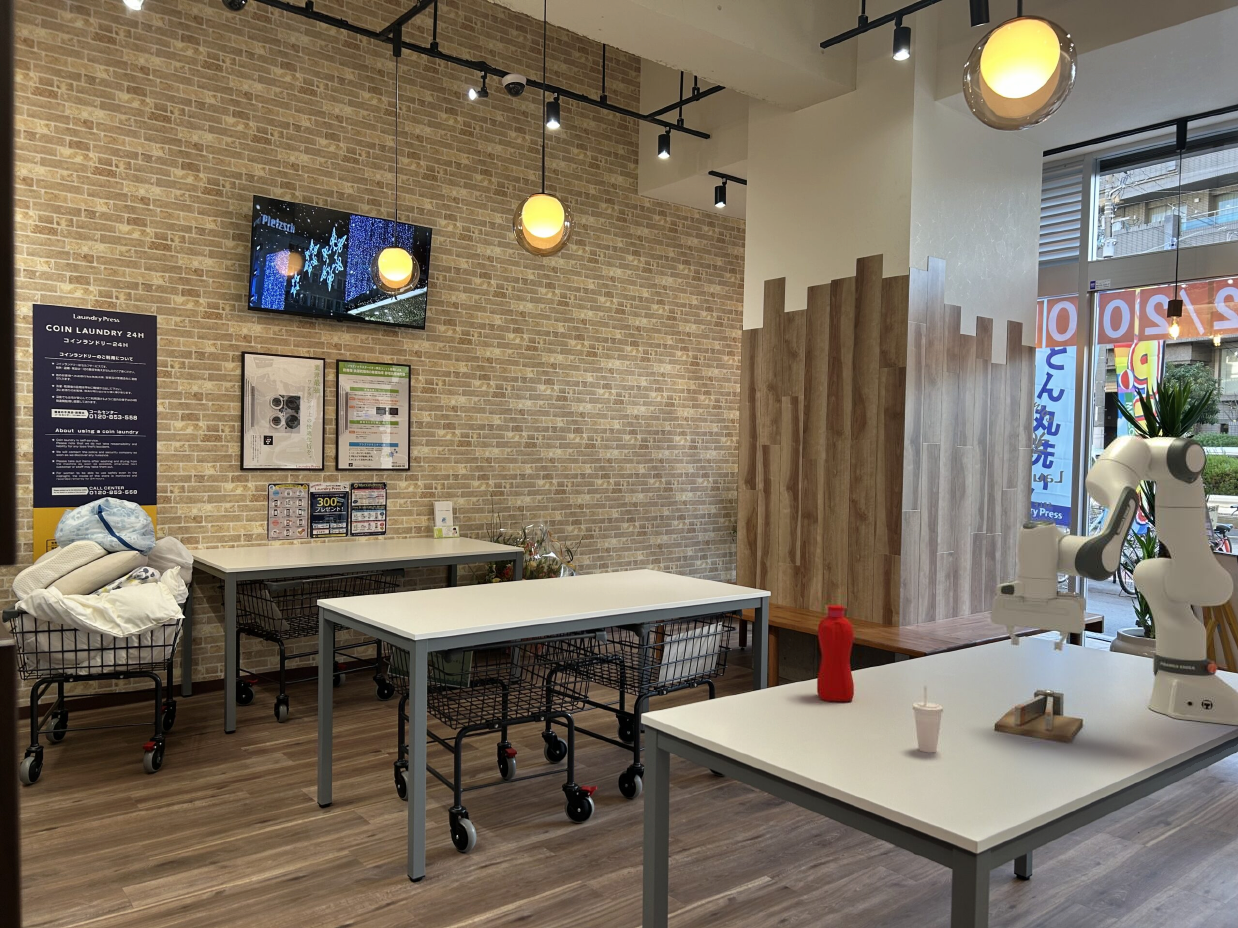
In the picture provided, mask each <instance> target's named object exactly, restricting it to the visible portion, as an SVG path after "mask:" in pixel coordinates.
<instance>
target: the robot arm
mask: <svg viewBox="0 0 1238 928" xmlns="http://www.w3.org/2000/svg"><path fill="white" fill-rule="evenodd" d="M1206 462H1207V455H1206V451H1205V449H1204V447H1203V445H1202V444H1201V443H1200V442H1199V440H1196V439H1195V438H1194V439H1193V438H1190V437H1184V436H1179V437H1170V436H1168V437H1166V436H1163V437H1162V436H1155V437H1151V438H1141V437H1139V436H1135V435H1130V434H1126V435H1121V436H1119V437H1117V438H1115V439H1114V440H1113V441H1111V443H1110V444H1109V445H1108V446H1106V448H1105V449H1104V450H1102V452H1101V454H1100V455H1099V456H1098V457H1097V459H1096V460H1095V462H1094V464H1093V465H1092V467H1090V469H1089V471H1088V473H1087V475H1086V478H1085V481H1084V482H1085V483H1084V484H1085V489H1086V491H1087V493H1088V494H1089V496H1090V497H1091V499H1093V500H1094V502H1095V503H1097V504H1099V506H1101V507H1102V508H1106V509H1107V510H1108V512H1107V515H1106V517H1105V519H1104V522H1103V524H1102V527H1101V529H1100V531H1099V532H1098V533H1095V534H1094V535H1090V536H1083V535H1073V534H1068V533H1066V532H1064V531H1062V530H1061V529H1059V528H1058V527H1057V525H1056V523H1055V522H1054V521H1051V520H1045V519H1044V520H1043V519H1042V520H1031V521H1026V522H1025V523H1024V524H1022V525H1021V527H1020V530H1019V532H1018V539H1017V561H1018V569H1017V573H1016V580H1015V581H1014V580H1011V581H1008V582H1006V583H1005V582H1003V583H1001V584H998V585H997V586H996V587H995V592H996V594H997V595H996V596H994V598H993V599H992V604H991V608H990V621H991V622H992V623H993V625H998V626H999V625H1001V626H1006V627H1005V630H1006V632H1007V633H1008V635H1009V637H1010V638H1011V639H1010V645H1012V646H1019V645H1020V636H1016V635H1015V633H1014V630H1015V627H1018V628H1027V629H1036V630H1037V629H1038V630H1047V631H1052V632H1053V631H1055V632H1059V636H1060V637H1061V638H1060V639H1059V641H1054V644H1053V646H1054V647H1053V649H1054V650H1055V651H1060V652H1061V651H1063V643H1064V641H1065V640H1066V639H1067V638H1068V636H1069V633H1072V634H1073V633H1074V634H1081V633H1082V632H1083V631H1084V630H1085V629H1086V621H1085V613H1084V612H1085V610H1087V600H1086V598H1085V596H1084V595H1081V594H1080V593H1079V592H1074V591H1073V592H1069V591H1064V590H1063V591H1062V590H1059V575H1058V574H1060V575H1066V576H1071V577H1079V578H1084V579H1087V580H1093V581H1095V582H1104V581H1106V580H1109V579H1110V578H1111V577H1112V576H1113V575H1115V573H1116V572H1117V571H1118V570H1119V568H1120V565H1121V560H1122V555H1123V549H1124V548H1125V544H1126V542H1127V540H1128V537H1129V534H1130V532H1131V530H1132V527H1133V524H1134V522H1135V519H1136V517H1137V514H1138V511H1139V508H1140V503H1141V502H1140V501H1141V500H1140V495H1139V493H1138V491H1137V489H1138V487H1139V486H1140V484H1141V482H1142V481H1147V482H1155V484H1156V487H1155V496H1154V518H1155V519H1154V522H1155V523H1154V525H1155V527H1154V528H1155V529H1154V531H1155V532H1154V533H1155V535H1156V538H1157V539H1158V541H1160V542H1161V543H1162V544H1163V545H1164V546H1166V548H1167V550H1168V553H1169V554H1170V557H1171V558H1167V557H1155V558H1154V557H1153V558H1147V559H1143V560H1141V561H1140V562H1138V563H1137V565H1135V568H1134V569H1133V572H1132V581H1133V584H1134V586H1135V588H1136V589H1137V591H1138V592H1139V593H1141V595H1142V596H1143V597H1144V599H1145V600H1146V602H1147V605H1148V606H1149V607H1148V608H1149V609H1150V612H1151V615H1152V618H1153V622H1154V630H1155V631H1154V633H1155V636H1154V637H1155V652H1154V654H1153V658H1152V672H1153V676H1154V678H1153V679H1154V680H1153V686H1152V691H1151V694H1150V695H1151V696H1150V699H1149V703H1148V705H1147V706H1148V709H1150V710H1152V711H1154V712H1157V713H1159V714H1164V715H1167V716H1169V717H1171V718H1173V719H1177V720H1187V721H1193V722H1205V723H1213V724H1214V723H1215V724H1223V725H1229V726H1230V725H1232V726H1238V691H1237V690H1236V689H1235V688H1233V687H1232V686H1231V685H1229V683H1227V682H1225V681H1224V680H1223V679H1221V678H1220V677H1219V676H1217V674H1216V673H1217V671H1218V666H1217V664H1216V663H1215V661H1213V660H1210V659H1209V658H1207V629H1206V626H1204V623H1202V622H1201V621H1200V620H1199V619H1198V618H1197V617H1196V615H1195V614H1194V612H1193V609H1192V608H1191V605H1193V606H1198V607H1212V606H1213V607H1214V606H1222V605H1224V604H1225V603H1227V601H1228V600H1229V599H1231V596H1232V595H1233V592H1234V580H1233V578H1232V576H1231V574H1230V572H1228V571H1227V570H1226V569H1225V568H1224V567H1223V566H1222V564H1220V563H1219V561H1218V560H1217V558H1216V556H1215V554H1214V553H1213V551H1212V548H1211V546H1210V543H1209V538H1208V533H1207V518H1206V517H1207V516H1206V514H1207V513H1206V496H1205V494H1206V493H1205V488H1204V481H1203V478H1202V474H1203V473H1202V472H1203V471H1204V469H1205V468H1206V467H1205V466H1206Z"/></svg>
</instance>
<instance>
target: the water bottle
mask: <svg viewBox="0 0 1238 928" xmlns="http://www.w3.org/2000/svg"><path fill="white" fill-rule="evenodd" d="M817 627H818V628H817V637H818V643H819V648H820V652H821V661H820V666H819V671H818V675H817V681H816V683H817V684H816V693H817V695H818V698H820V699H821V700H823V701H825V702H840V703H841V702H842V703H847V702H851V701H852V700H853V699H854V697H855V696H854V695H855V683H854V678H853V673H852V670H851V664H850V660H851V659H850V658H851V655H852V649H853V648H852V647H853V643H854V638H855V634H854V632H855V631H854V627H853V625H852V623H851V621H849V619H847V618H846V617H845V606H843V605H839V604H831V605H827V616H825V617H824V618H822V619H821V620H820V622H819V624H818V626H817Z"/></svg>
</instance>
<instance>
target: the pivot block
mask: <svg viewBox="0 0 1238 928" xmlns="http://www.w3.org/2000/svg"><path fill="white" fill-rule="evenodd" d="M1040 695H1042V696H1045V713H1046V706H1047V698H1048V697H1053V714H1054V715H1061V716H1064V698H1065V697H1064V693H1063V692H1055V690H1053V689H1043V690H1041V689H1037V690H1036V691H1034V693H1033V698H1035V697H1037V696H1040Z"/></svg>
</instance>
